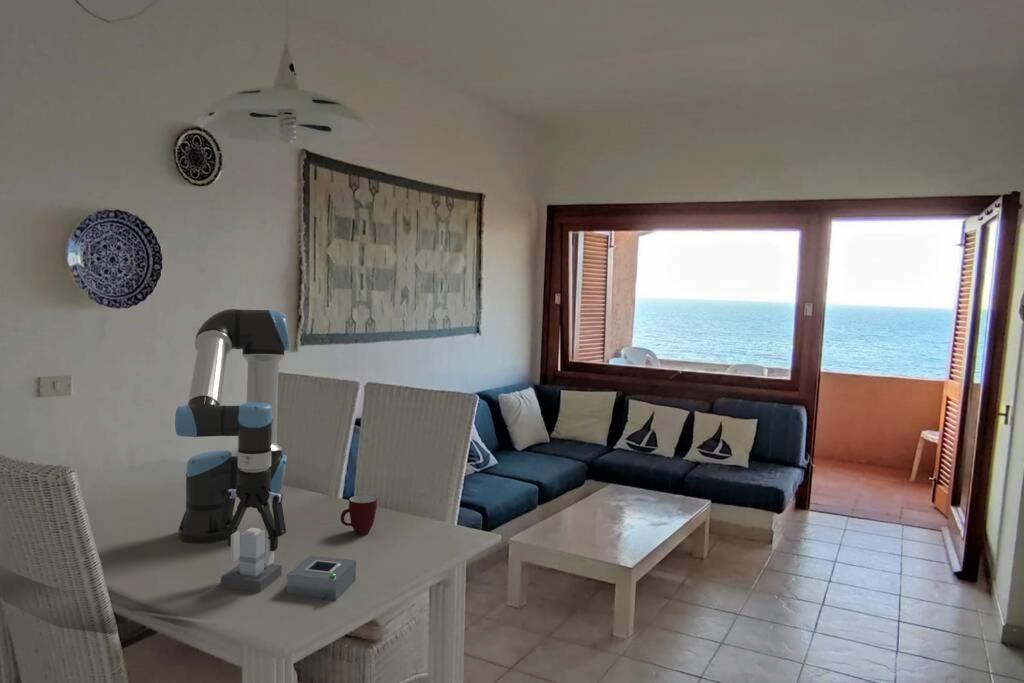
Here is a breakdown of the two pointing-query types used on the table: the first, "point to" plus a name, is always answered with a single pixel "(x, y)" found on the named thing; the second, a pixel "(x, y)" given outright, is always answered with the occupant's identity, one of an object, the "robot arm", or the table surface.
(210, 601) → the table surface
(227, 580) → the holster
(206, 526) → the robot arm
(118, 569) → the table surface
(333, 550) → the table surface
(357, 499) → the mug
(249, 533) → the plug
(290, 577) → the port
